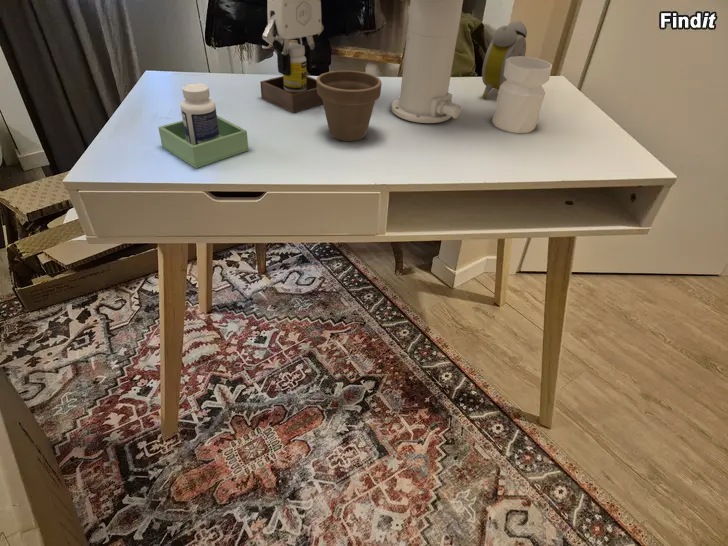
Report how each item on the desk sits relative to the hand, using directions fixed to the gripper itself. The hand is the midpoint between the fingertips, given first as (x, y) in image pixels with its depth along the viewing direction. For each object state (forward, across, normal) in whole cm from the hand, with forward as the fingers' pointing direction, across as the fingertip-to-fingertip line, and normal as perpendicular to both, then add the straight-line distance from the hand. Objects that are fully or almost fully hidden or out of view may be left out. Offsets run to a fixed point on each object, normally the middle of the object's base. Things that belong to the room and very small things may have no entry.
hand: (295, 70), depth 101 cm
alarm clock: (+6, +39, -26) cm, 47 cm away
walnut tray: (+6, 0, 0) cm, 6 cm away
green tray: (+6, -27, -8) cm, 29 cm away
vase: (+6, +26, -37) cm, 46 cm away
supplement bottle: (+4, 0, 0) cm, 4 cm away
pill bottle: (+6, -27, -8) cm, 29 cm away
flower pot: (+6, -4, -19) cm, 20 cm away
